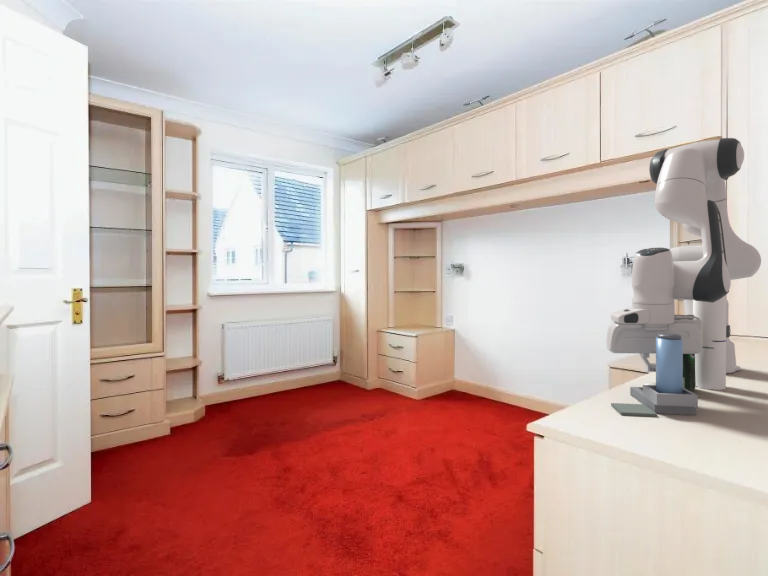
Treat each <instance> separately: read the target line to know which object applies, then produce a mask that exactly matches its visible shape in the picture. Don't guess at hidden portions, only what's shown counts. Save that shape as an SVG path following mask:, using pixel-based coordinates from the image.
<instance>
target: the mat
mask: <svg viewBox="0 0 768 576" xmlns="http://www.w3.org/2000/svg"><path fill="white" fill-rule="evenodd" d="M610 406H611V407H612V408H613V409H614V410H615V411H616V413H617V412H618V414H619V415H620V416H631V417H632V416H635V417H653V416H657V417H658V413H655V412H654V411H652V410H651V409H650V408H648V407H647V406H646V405H644V404H642V403H624V402H623V403H619V402H611V403H610Z"/></svg>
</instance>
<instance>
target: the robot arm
mask: <svg viewBox="0 0 768 576" xmlns="http://www.w3.org/2000/svg"><path fill="white" fill-rule="evenodd" d="M741 143H742V142H740V141H739V140H738V139H737V138H735V137H733V138H732V137H723V138H720V139H712V140H704V141H703V140H702V141H696V142H692V143H689V144H683V145H680V146H676V147H671V149H669V148H665V149H663V150H662V149H661V150H660V151H658V152H655V153H654V155H653V156H652V157H651V159H650V161H649V166H648V167H649V168H648V172H649V176H650V179H651V181H652V182H653V183H654V184H656V187H655V193H654V206H655V209H656V211H657V212H658V213H659V214H660V215H661V216H662V217H664V218H665V219H667V220H669V221H671V222H675V223H679V224H682V226H683V228H684V229H685V231H687V232H688V233H689V234H692V235H695V236H698V237H700V238H701V244H696V245H681V246H676V247H671V248H668V247H649V248H644V249H643V248H642V249H640V250H638V251H636V253H634V257H633V261H632V271H631V287H632V291H633V297H632V300H631V306H630V307H628V308H623V309H621V310H617V311H614V312H612V313H611V314H610V320H611V321H612V322H611V323H610V324H609V325H608V327H607V333H606V349H607V350H608V351H609V352H610V353H613V354H639V357H640V358H641V360H642V362H643V363H644V369H645V372H647V373H648V372H649V373H656V362H654V363H650V360H649V358H650V354H652V355H653V354H655V355H656V337H658V334H678V335H681V339H683V354H699V353H700V352H701V351H702V339H701V333H700V330H701V320H700V319H699V318H698V317H695V316H694V315H693V300H695V301H702V302H711V303H713V302H715V301H717V300H719V299H721V298H722V297H724V296H725V295H726V294H729V293H730V289H731V282H732V281H733V280H740V279H746V278H751V277H753V276H755V274H756V273H757V272H758V271H759V269H760V267H761V265H762V258H761V254H760V252H759V251H758V249H757V248H755V246H753V245H752V244H749V243H747V242H745V240H743V239H742V238H740V237H739V236H738V235H737V234H736V233H735V231H734V229H732V226H731V224H730V219H729V214H728V202H727V201H728V199H727V188H726V182H725V181H727V180H729V178H730V177H733V176H734V175H736V174H737V173H738V172H739V171H740V170H741V168H742V165H743V163H744V161H745V150H744V147H743V146H742V144H741ZM676 300H678V301H683V307H684V309H683V310H684V314H676V313H675V310H676V308H675V301H676ZM694 318H696V319H694ZM730 337H731V325H730V324H729V301H728V299H727V298H726V374H731V373H735V372H737V371H741V366H739V365H737V360H736V357H737V356H736V347H735V345H736V344H735V343H734V342H733V341H732V340H731V339H730Z"/></svg>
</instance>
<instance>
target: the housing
mask: <svg viewBox="0 0 768 576" xmlns="http://www.w3.org/2000/svg"><path fill="white" fill-rule="evenodd" d="M629 390H630V391H629V392H630V393H629V395H630V396H632V398H634V399H636V400H637V401H638V402H639V403H640V404H644V405H646V406H647V407H648V408H650V409H651V410H652V411H654V412H655V413H656V414H663V413H665V414H667V415H691V416H696V414H697V408H698V407H699V395H698V394H696V393H694V391H692V392H691V391H689V390H687V389H685V388H683V394H670V393H658V392H656V385H643V384H642V386H630V387H629Z"/></svg>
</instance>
